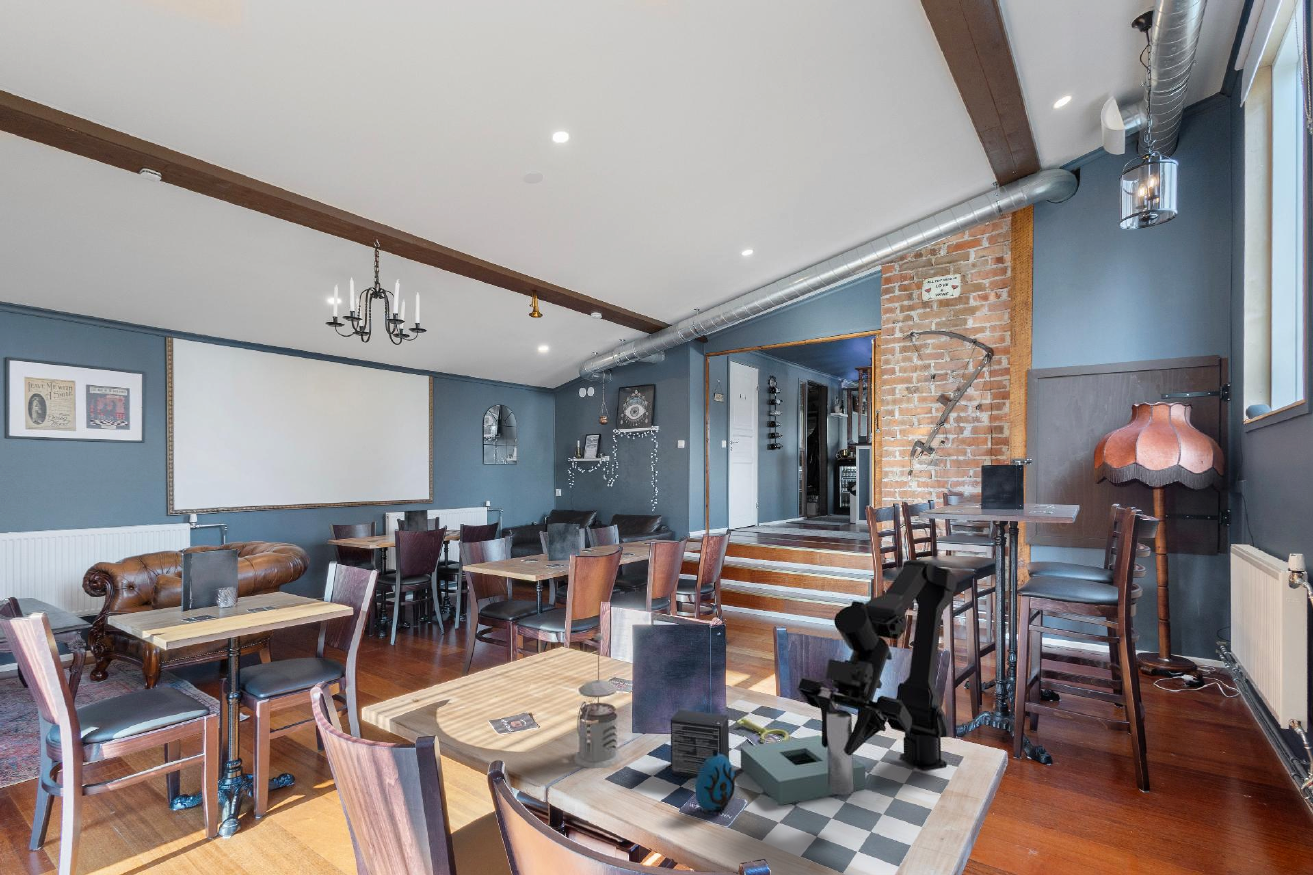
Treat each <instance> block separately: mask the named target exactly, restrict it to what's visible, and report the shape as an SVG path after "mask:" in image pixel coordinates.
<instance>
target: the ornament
mask: <svg viewBox="0 0 1313 875" xmlns="http://www.w3.org/2000/svg"><path fill="white" fill-rule="evenodd" d="M731 763H732V762H731V761H730V759H729V760H728V759H727V758H726V757H725V756H724V755H722V754H718V751H717V750H716V749H714V750H713V755H711V756H710V757H708V758H707V759H706V760H705V762H704V763H703V765H702V766H701V768H700V770H699V773H698V776H697V778H696V780H695V789H694V791H695V792H694V793H695V799H696V802H698V805H699V807H700V808H702V809H704V810H705V811H716V810H717V809H718V811H720V810H723V809H725V808H726V807H727V806H728V804H729V802H731V801H730V800H732V798H733V795H734V794H735V787H736V775H735V772H734V769H733V766H732V764H731Z"/></svg>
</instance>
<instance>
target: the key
mask: <svg viewBox="0 0 1313 875" xmlns="http://www.w3.org/2000/svg"><path fill="white" fill-rule="evenodd" d="M736 724H737V725H738V726H746V727H748V728H750V729H752V730H753V731H755V732H757V733H759V732H760V733H759V734H762V735H760V738H761V740H764V741H766V742H771V741H772V740H769V739H766V738H764V736H766V735H767V734H784V735H785V736H784V735H783V736H784V737H782V738H781V739H780V740H787V739H788V738H789V739H790V735H789V732H787V731H786V730H783V729H779V728H778V729H777V728H775V729H774V728H773V729H768V730H767V728H766V727H762V726H759V725H757V724H756V723H753V722H752V721H750V720H748V719H746V718H744V717H743V718H741V720H739V721H736ZM789 739H788V740H789ZM761 740H760V741H761Z"/></svg>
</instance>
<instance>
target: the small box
mask: <svg viewBox="0 0 1313 875" xmlns="http://www.w3.org/2000/svg"><path fill="white" fill-rule="evenodd" d="M729 717H730V716H729V714H719V713H713V712H703V711H702V712H701V711H697V710H696V711H694V710H686V709H678V711H677V712H676V713H674V714H673V716H672V717H671V718H670V720H669V721H670V775H675V776H680V777H689V778H695V779H697V776H698V773H699V770H700V768H701V766H702V765H703V763H704V762H705V760H706V759H707V758H708V757H710V756H711V755H713V750H714V749H716V750H717V751H718V754H722V755H724V756H725V757H726V758H727V759H728V760H729V761H730V739H729V738H730V736H729V735H730V732H729V731H730V730H729V729H730V728H729V726H730V725H729V722H730V721H729V719H730V718H729Z"/></svg>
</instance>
